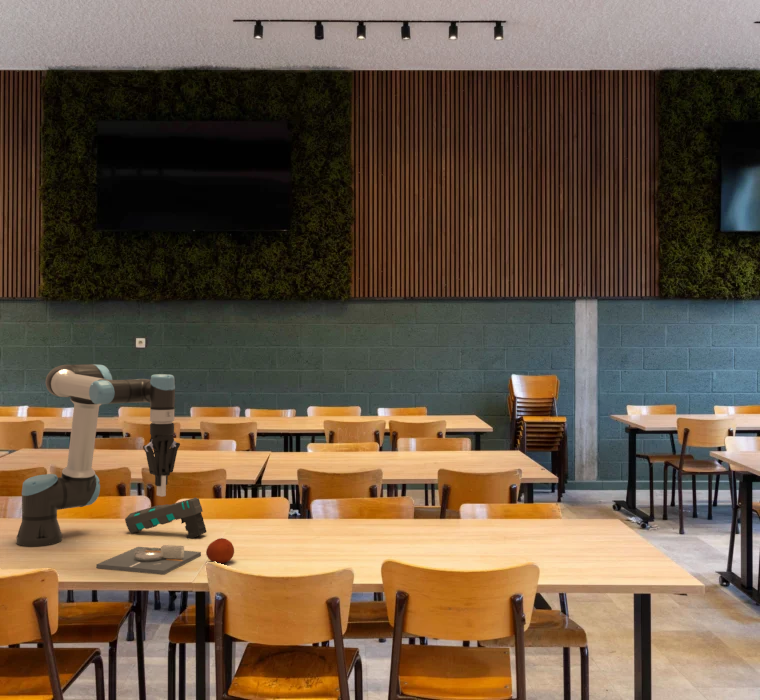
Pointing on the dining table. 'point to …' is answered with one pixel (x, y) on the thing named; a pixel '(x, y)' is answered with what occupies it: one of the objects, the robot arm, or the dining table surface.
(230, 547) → the fruit
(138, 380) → the robot arm
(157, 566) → the panel
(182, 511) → the gun
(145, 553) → the dial
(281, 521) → the dining table surface
